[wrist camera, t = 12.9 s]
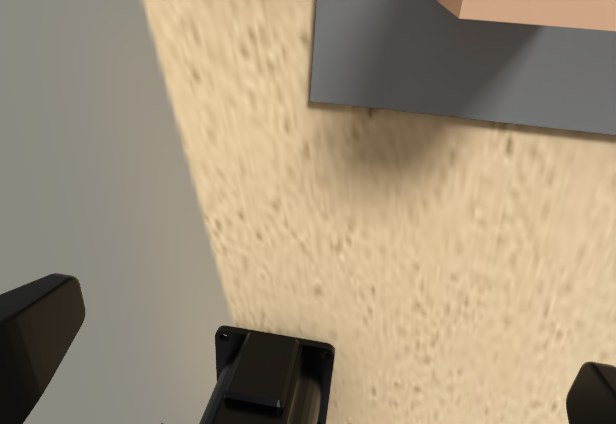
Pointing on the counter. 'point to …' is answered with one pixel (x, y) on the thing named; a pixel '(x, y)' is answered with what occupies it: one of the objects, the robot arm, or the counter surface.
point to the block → (539, 12)
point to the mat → (463, 65)
